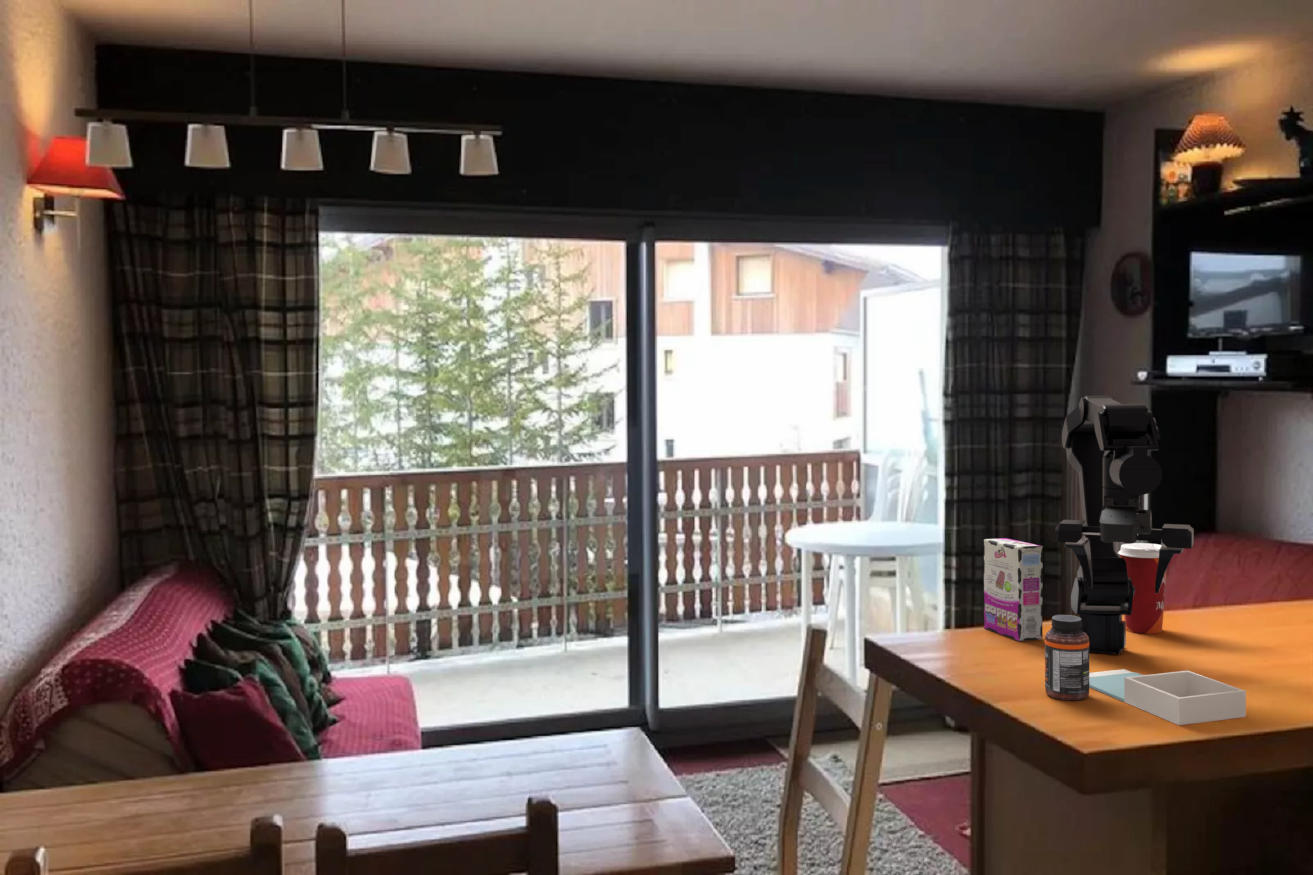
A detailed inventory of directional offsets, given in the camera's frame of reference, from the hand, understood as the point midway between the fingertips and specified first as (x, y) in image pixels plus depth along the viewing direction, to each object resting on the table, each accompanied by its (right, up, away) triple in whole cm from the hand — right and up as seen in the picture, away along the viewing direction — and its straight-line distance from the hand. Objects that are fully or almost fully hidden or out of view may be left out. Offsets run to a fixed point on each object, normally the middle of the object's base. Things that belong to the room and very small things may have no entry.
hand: (1123, 590), depth 163 cm
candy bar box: (-7, -12, +28) cm, 31 cm away
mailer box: (0, -14, -10) cm, 17 cm away
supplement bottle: (-12, -14, -8) cm, 20 cm away
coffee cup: (+16, -11, +29) cm, 35 cm away
